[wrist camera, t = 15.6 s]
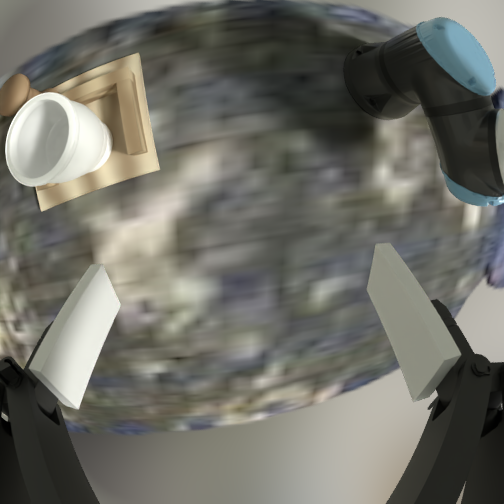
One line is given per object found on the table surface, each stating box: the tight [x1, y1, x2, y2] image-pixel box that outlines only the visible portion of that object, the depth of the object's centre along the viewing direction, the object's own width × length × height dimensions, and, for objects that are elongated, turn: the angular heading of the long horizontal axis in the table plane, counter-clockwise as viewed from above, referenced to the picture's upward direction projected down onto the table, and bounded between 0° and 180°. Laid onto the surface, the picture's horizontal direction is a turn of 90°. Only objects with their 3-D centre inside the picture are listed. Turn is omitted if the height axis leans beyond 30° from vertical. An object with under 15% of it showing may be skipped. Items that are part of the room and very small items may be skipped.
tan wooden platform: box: [0, 53, 160, 211], centre depth 28 cm, size 22×20×12 cm
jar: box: [5, 92, 113, 186], centre depth 27 cm, size 11×10×15 cm
